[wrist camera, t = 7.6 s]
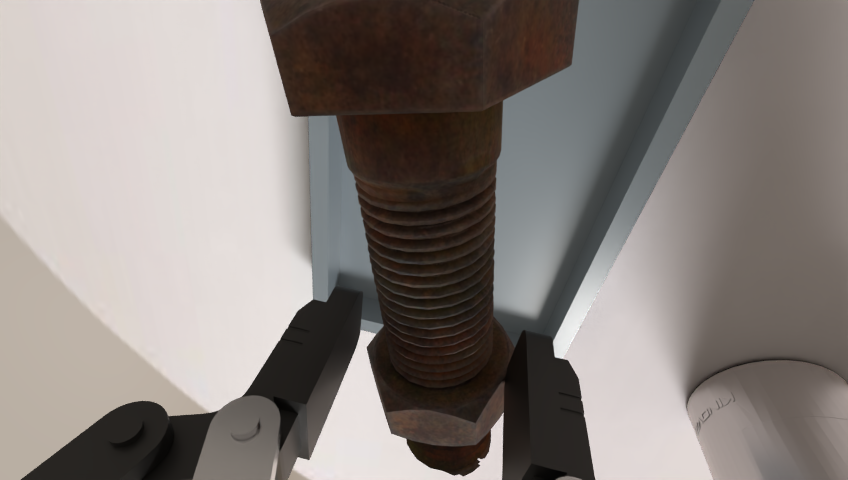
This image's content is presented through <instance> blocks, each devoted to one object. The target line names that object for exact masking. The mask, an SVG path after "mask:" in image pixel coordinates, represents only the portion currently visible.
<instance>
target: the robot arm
mask: <svg viewBox="0 0 848 480" xmlns="http://www.w3.org/2000/svg"><path fill="white" fill-rule="evenodd" d="M362 302H363V292H362V291H359V290H355V289H350V288H346V287H342V286H336V287H335V288H334V289H333V291H332V293H331V295H330V296H329V298H328V300H327V302H323V301H319V300H314V299H313V300H312V301H311V302H309V303H308V304H306V305H305V306H304V307H302V308H301V309H300V310H298V312H297V313H296V315H295V316H294V318H293V320H292V321H291V323H290V324H289V327H288V329H286V331H285V332H284V334H283V335H282V337H281V340H280V341H279V342H278V343H277V345H276V347H275V348H274V350H273V351H272V353H271V354H270V356H269V358H268V359H267V361H266V362H265V364H264V366H263V367H262V369H261V370H260V372H259V373H258V375H257V377H256V378H255V380H254V381H253V383H252V385H251V386H250V388H249V389H248V390H247V392H246V393H245V394H244V395H243V396H242V397H241V398H238V399H235V400H233V401H231V402H230V403H228V404H227V405H225V406H224V407H223V408H222V409H221V410H219V411H216V412H212V413H206V414H194V415H180V416H168V415H167V412H166V411H165V409H164V408H163V407H162V406H161V405H159V404H157V403H154V402H150V401H138V402H132V403H129V404H125V405H123V406H120V407H118V408H116V409H115V410H113V411H111V412H109V413H108V414H106V415H105V416H104V417H103V418H101V419H100V420H98V421H97V422H96V423H94V424H93V425H92V426H90V427H89V428H88V429H87V430H85V431H84V432H83V433H81V434H80V435H79V436H77V437H76V438H75V439H73V440H72V441H71V442H70V443H68V444H67V445H66V446H64V447H63V448H62V449H60V450H59V451H58V452H56V453H55V454H54V455H53V456H51V457H50V458H49V459H47V460H46V461H45V462H43V463H42V464H41V465H39V466H38V467H37V468H36V469H34V470H33V471H31V472H30V473H29V474H27V475H26V476H25V477H24V478H22V479H21V480H288V478H289V475H290V473H291V471H292V468H293V466H294V464H295V462H296V459H297V457H300V458H303V459H307V460H310V457H311V455H312V452H313V450H314V448H315V445H316V443H317V440H318V438H319V435H320V433H321V431H322V428H323V426H324V423H325V421H326V419H327V416H328V414H329V411H330V409H331V407H332V404H333V402H334V399H335V397H336V395H337V392H338V390H339V387H340V385H341V382H342V380H343V378H344V375H345V373H346V370H347V368H348V366H349V363H350V361H351V358H352V356H353V354H354V351H355V349H356V346H357V343H358V339H359V335H360V329H361V317H362ZM581 398H582V397H581V391H580V385H579V379H578V377H577V375H576V373H575V372H574V370H573V368H572V366H571V365H570V363H569V361H568V360H564V359H560V358H556V357H555V355H554V346H553V339H552V337H551V336H549V335H544V334H540V333H536V332H532V331H527V330H523V331H522V332H521V335H520V337H519V339H518V342H517V344H516V347H515V349H514V352H513V354H512V356H511V359H510V361H509V364H508V367H507V372H506V379H505V383H504V423H503V474H502V480H595V477H594V470H593V464H592V458H591V452H590V446H589V440H588V434H587V428H586V422H585V417H584V409H583V403H582V401H581ZM687 409H688V416H689V418H690V421H691V423H692V426H693V428H694V431H695V433H696V436H697V438H698V441H699V444H700V446H701V449H702V451H703V454H704V456H705V459H706V461H707V464H708V466H709V469H710V472H711V474H712V477H713V480H848V384H847V382H846V381H845V380H844V379H843V378H842V377H840V376H839V375H838V374H836V373H835V372H833V371H831V370H829V369H826V368H824V367H822V366H819V365H815V364H811V363H807V362H800V361H790V360H771V361H761V362H754V363H748V364H744V365H740V366H736V367H733V368H730V369H727V370H725V371H723V372H720V373H718V374H716V375H714V376H712V377H711V378H709V379H707V380H706V381H704V382H703V383H702V384H701V385H700V386H698V387H697V388H696V389H695V391H694V392H693V393H692V395H691V396H690V398H689V402H688V405H687Z"/></svg>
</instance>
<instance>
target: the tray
mask: <svg viewBox="0 0 848 480" xmlns="http://www.w3.org/2000/svg"><path fill="white" fill-rule="evenodd" d="M753 2H754V0H579V5H578V14H577V23H576V31H575V40H574V49H573V58H572V65H571V66H569V67H568V68H566V69H564V70H562V71H560V72H558V73H556V74H554V75H552V76H550V77H548V78H546V79H544V80H542V81H540V82H538V83H536V84H534V85H533V86H531V87H529V88H527V89H525V90H523V91H521V92H519V93H517V94H515V95H513V96H511V97H509V98H507V99H505V100H503V118H502V144H501V153H500V156H499V158H498V159H497V172H496V176H495V177H496V190H495V195H496V203H495V204H496V212H495V217H496V219H495V226H494V227H495V235H494V239H495V242H494V250H495V254H494V261H495V263H494V282H493V284H494V291H493V296H494V310H493V316H494V317H495V318H496V320H497V321H498V322H499V323H500V324H501V325H502V326H503V328H504V330H505V331H506V333H507V335H508V336H509V338H510V340H511V341H512V343H513V345H514V347H516V344H517V342H518V339H519V337H520V335H521V332H522V331H523V330H527V331H532V332H536V333H540V334H544V335H549V336H551V337H552V339H553V346H554V355H555V357H556V358H560V359H563V358H564V356H565V354H566V352H567V350H568V348H569V346H570V344H571V343H572V341H573V339H574V337H575V335H576V333H577V331H578V330H579V328H580V326H581V324H582V322H583V320H584V318H585V316H586V315H587V313H588V311H589V309H590V307H591V305H592V303H593V301H594V300H595V298H596V296H597V294H598V292H599V290H600V288H601V286H602V285H603V283H604V281H605V279H606V277H607V275H608V273H609V271H610V270H611V268H612V266H613V264H614V262H615V260H616V258H617V256H618V255H619V253H620V251H621V249H622V247H623V245H624V243H625V241H626V240H627V238H628V236H629V234H630V232H631V230H632V228H633V227H634V225H635V223H636V221H637V219H638V217H639V215H640V213H641V212H642V210H643V208H644V206H645V204H646V202H647V200H648V198H649V197H650V195H651V193H652V191H653V189H654V187H655V185H656V183H657V182H658V180H659V178H660V176H661V174H662V172H663V170H664V168H665V167H666V165H667V163H668V161H669V159H670V157H671V155H672V153H673V152H674V150H675V148H676V146H677V144H678V142H679V140H680V138H681V137H682V135H683V133H684V131H685V129H686V127H687V125H688V124H689V122H690V120H691V118H692V116H693V114H694V112H695V110H696V109H697V107H698V105H699V103H700V101H701V99H702V97H703V95H704V94H705V92H706V90H707V88H708V86H709V84H710V82H711V80H712V79H713V77H714V75H715V73H716V71H717V69H718V67H719V65H720V64H721V62H722V60H723V58H724V56H725V54H726V52H727V50H728V49H729V47H730V45H731V43H732V41H733V39H734V37H735V35H736V34H737V32H738V30H739V28H740V26H741V24H742V22H743V20H744V19H745V17H746V15H747V13H748V11H749V9H750V7H751V6H752V4H753ZM308 126H309V164H310V203H311V241H312V279H313V299H314V300H319V301H323V302H327V300H328V298H329V296H330V295H331V293H332V291H333V289H334V288H335V287H336V286H342V287H346V288H350V289H355V290H359V291H362V292H363V302H362V317H361V329H360V330H364V331H368V332H372V333H376V334H377V333H378V332H379V330H380V329H381V328H382V327H383V326H384V325H383V320H382V316H381V311H380V305H379V301H378V294H377V292H376V285H375V282H374V275H373V273H372V268H371V263H370V258H369V255H370V254H369V252H368V243H367V240H366V236H365V233H366V232H365V228H364V224H363V218H362V216H361V209H360V208H361V206H360V204H359V201H358V193H357V190H356V186H355V183H356V181H355V180H354V175H353V173H352V172H351V171H350V170H349V168H348V166H347V162H346V158H345V154H344V149H343V145H342V140H341V136H340V131H339V127H338V122H337V118H336V116H308Z"/></svg>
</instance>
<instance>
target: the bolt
mask: <svg viewBox="0 0 848 480" xmlns="http://www.w3.org/2000/svg"><path fill="white" fill-rule="evenodd" d="M260 2H261V6H262V10H263V14H264V17H265V21H266V25H267V28H268V32H269V36H270V39H271V43H272V46H273V50H274V54H275V57H276V61H277V65H278V68H279V72H280V76H281V79H282V83H283V86H284V90H285V94H286V97H287V101H288V105H289V108H290V112H291V115H292V116H295V117H300V116H336V118H337V122H338V127H339V131H340V136H341V140H342V145H343V149H344V154H345V158H346V162H347V166H348V168H349V170H350V171H351V172H352V173H353V175H354V180H355V181H356V183H355V186H356V190H357V193H358V201H359V204H360V206H361V208H360V209H361V216H362V218H363V224H364V228H365V232H366V233H365V236H366V240H367V243H368V252H369V254H370V255H369V258H370V263H371V268H372V273H373V275H374V282H375V285H376V292H377V294H378V301H379V305H380V311H381V316H382V320H383V325H384V326H383V327H382V328H381V329H380V330H379V332H378V333H377V334H376V336H375V337H374V338H373V340H372V341H371V342H370V344H369V345H368V346H367V351H368V355H369V359H370V364H371V368H372V371H373V375H374V378H375V382H376V386H377V389H378V392H379V396H380V399H381V403H382V406H383V409H384V412H385V416H386V419H387V422H388V425H389V428H390V431H391V434H394V435H397V436H400V437H403V438H406V439H407V445H408V446H409V448H410V450H411V451H412V453H413V454H414V456H415V457H416V458H417V459H418V460H419V461H421V462H422V463H424V464H425V465H427V466H428V467H430V468H433V469H437V470H442V471H445V472H447V473H449V474H452V475H458V474H460V475H462V476H465V475H467V474H469V473H471V472H473V471H474V470H475V469H477V468H478V467H479V466H480V465H479V464H478V463H479V462H480V461H478V460H477V459H478V458H480V459H483V458H485V457H486V455H487V454H488V452H489V447H490V442H491V428H492V427H493V426H494V425H495V423H496V422H497V421H498V419H499V418H500V417H501V415H502V414H503V412H504V383H505V379H506V372H507V367H508V364H509V361H510V359H511V356H512V354H513V352H514V349H515V347H514V345H513V343H512V341H511V340H510V338H509V336H508V335H507V333H506V331H505V330H504V328H503V326H502V325H501V324H500V323H499V322H498V321H497V320H496V318H495V317H494V316H493V310H494V296H493V291H494V284H493V282H494V263H495V261H494V254H495V250H494V242H495V239H494V235H495V227H494V226H495V219H496V217H495V212H496V204H495V203H496V195H495V190H496V177H495V176H496V172H497V159H498V158H499V156H500V153H501V144H502V118H503V100H505V99H507V98H509V97H511V96H513V95H515V94H517V93H519V92H521V91H523V90H525V89H527V88H529V87H531V86H533V85H534V84H536V83H538V82H540V81H542V80H544V79H546V78H548V77H550V76H552V75H554V74H556V73H558V72H560V71H562V70H564V69H566V68H568V67H569V66H571V65H572V58H573V49H574V40H575V31H576V23H577V14H578V5H579V0H260Z"/></svg>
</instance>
